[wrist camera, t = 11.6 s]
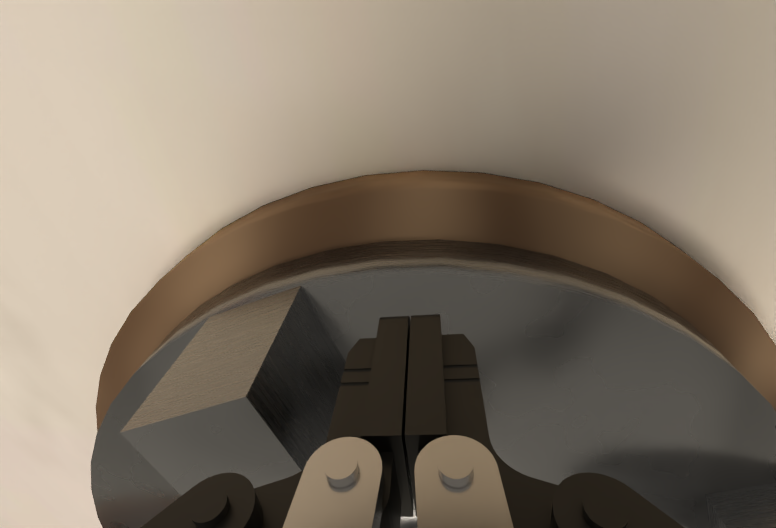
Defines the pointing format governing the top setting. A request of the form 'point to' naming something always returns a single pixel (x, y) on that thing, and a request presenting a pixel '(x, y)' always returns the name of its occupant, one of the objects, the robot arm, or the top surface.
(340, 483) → the robot arm
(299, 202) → the brown round board
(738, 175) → the top surface
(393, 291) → the lathe chuck plate
